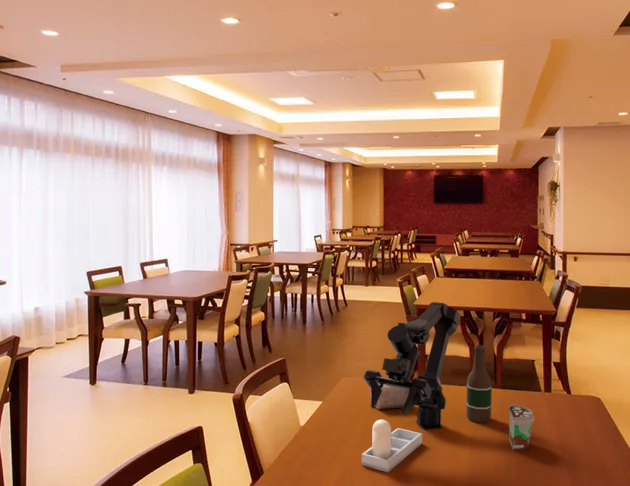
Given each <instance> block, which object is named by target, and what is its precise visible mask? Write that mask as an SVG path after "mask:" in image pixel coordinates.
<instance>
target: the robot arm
mask: <svg viewBox="0 0 630 486" xmlns="http://www.w3.org/2000/svg"><path fill="white" fill-rule="evenodd" d="M460 323H461V314H460V313H459V312H458V310H456V309H455V308H454V307H451V306H448V304H446V303H444V302H439V301H433V302H430V303H429V306H428V308H426V309H425V311H424V312H423V313H422V314H421V315H420V316H419V317H418V318H417V319H415V320H409V321H408V322H406V323H405V322H398V324H397V325H396V326H393V327H392V328H390V329H389V330H388V332H387V339H388V341H389V342H390V344H391V347H393V350H394V351H395V352H396V353H397V354H396V356H395V358H386V357H385V358H383V362H382V367H381V369H382V371H385V376H388V377H384V376H383V375H382V374H381V372H380V371H376V370H371V369H368V370H366V371H365V372H364V375H363V379H364V381H365V382H366V384H367V385H368V387H369V388H370V387H371V399H370V401H371V402H370V403H371V405H370V406H371V409H373V410H374V409H375V408H376V407H375V406H376V404H377V401H378V399H379V397H380V395H381V392H382V390H381V388H382V387H383V385H384V384H385V385H390V386H395V387H401V388H406V389H409V394H408V397H407V399H406V402H405V404H404V407H403V408H402V411H401V415H402V416H405V415H406V414H408V413H409V411H410V410H411V409H412V408H413V407H415V406H418V409H417V410H416V420H415V421H416V424H418V425H419V426H420V427H421V428H422V429H424V430H429V429H431V430H432V429H441V428H444V425H443V424H442V423H441V422H442V410H445V408H446V402H447V401H446V400H447V399H446V396H445V395H444V393H443V386H442V383H441V380H440V377H441V373H442V368H443V365H444V361H445V357H446V353H447V348H448V344H449V341H450V337H451V336H452V335H453V334H454V333H456V331H457V329H458V326H459V325H460ZM432 329H434V334H433V340H432V343H431V347H430V351H429V354H428V359H427V364H426V367H425V371H424V373H423V374H422V375H418V376H417V377H414V378H413V379H412V381H410V380H411V377H412V375H414V374H415V369H414V368H415V365H416V362H417V359H418V358H421V353H420V350H419V347H418V346H417V345H420V346H424V345H426V343H427V342H428V341H429V339H430V336H431V335H430V331H431V330H432Z"/></svg>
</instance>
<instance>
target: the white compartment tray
mask: <svg viewBox="0 0 630 486" xmlns="http://www.w3.org/2000/svg"><path fill="white" fill-rule="evenodd" d="M421 445H423V433H421V432H417V431H413V430H409V429H403V428H399V427H397V428H396V429H394V430H393V431H391V457H390V458H389V459H387V460H386V459H383V458H379V457H375V456H372V446H371V447H369V448H367V450H365V451H364V452H362V453H361V466H364V467H368V468H371V469H374V470H379V471H382V472H385V473H389V472H390V471H392V470H393V469H394V468H395V467H397V466H398V465H399V464H400V463H402V461H403V460H405V459H406V458H407V457H408V456H409V455H411V454H412V453H413V452H414V451H415V450H417V449H418V448H419V447H420V446H421Z"/></svg>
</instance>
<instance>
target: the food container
mask: <svg viewBox="0 0 630 486" xmlns="http://www.w3.org/2000/svg"><path fill="white" fill-rule="evenodd" d="M508 411H509V412H508V413H509V415H508V416H509V417H508V419H509V420H508V421H509V422H508V438H509V442H510V446H511V448H512V451H514V452H517V451H518V452H520V451H519V450H521V451H524V450H525V451H526V450H527V449H529V448H530V442H531V434H532V424H533V423H534V422H535V416H534V414H533V411H532V410H531V409H530V408H528V407H526V406H522V405H519V404H515V403H514V404H513V403H510V404H509V405H508ZM515 450H516V451H515Z"/></svg>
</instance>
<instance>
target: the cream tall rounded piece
mask: <svg viewBox="0 0 630 486" xmlns="http://www.w3.org/2000/svg"><path fill="white" fill-rule="evenodd" d="M371 428H372V435H371V436H372V437H371V440H372V442H371V443H372V444H371V447H372V456H375V457H379V458H383V459H386V460H387V459H389V458H390V457H391V432H392V425H391V424H390V422H389V421H387V420H385V419H381V418H380V419H377V420H376V421H375V422H374V423H373V425H372V427H371Z"/></svg>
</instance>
